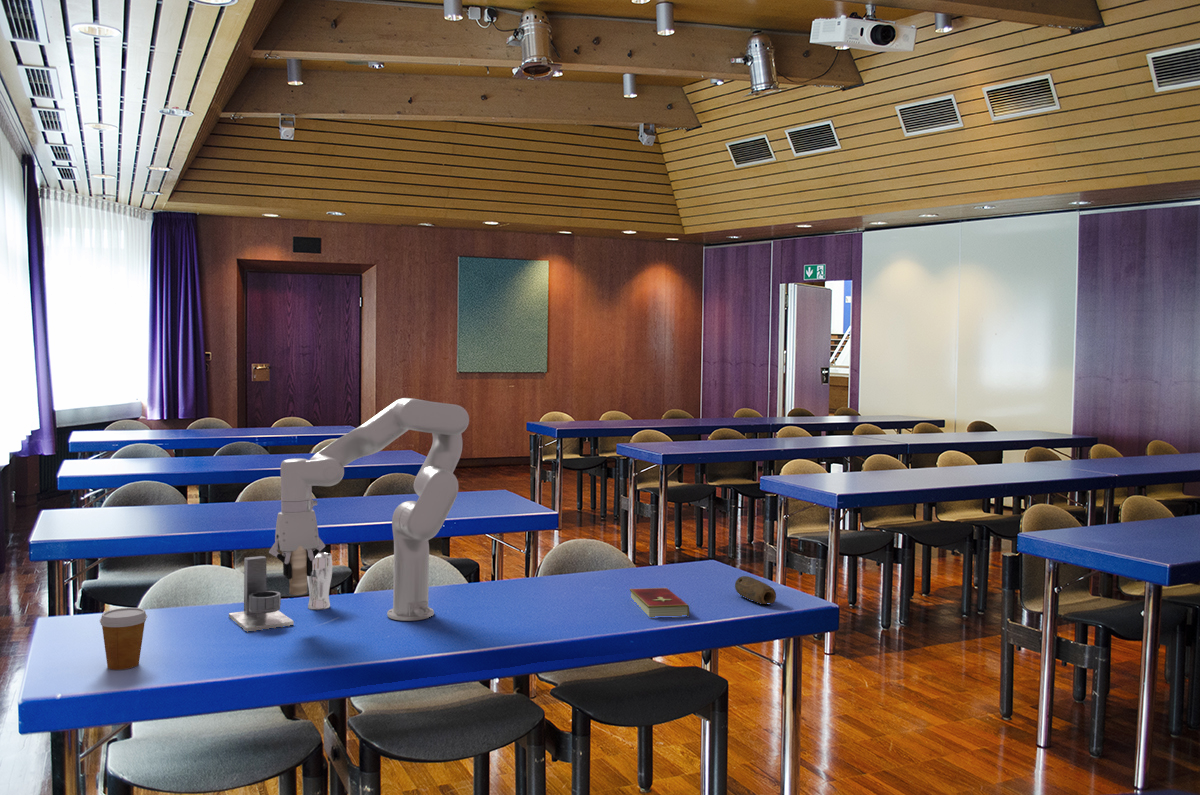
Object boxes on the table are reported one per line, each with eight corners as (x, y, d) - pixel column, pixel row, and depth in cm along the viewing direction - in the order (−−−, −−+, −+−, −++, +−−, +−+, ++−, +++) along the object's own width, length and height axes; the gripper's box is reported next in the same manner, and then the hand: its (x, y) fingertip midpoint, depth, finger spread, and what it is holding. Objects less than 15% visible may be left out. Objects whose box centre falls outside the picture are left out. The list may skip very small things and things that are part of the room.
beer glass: (335, 604, 261) (336, 552, 260) (325, 610, 254) (326, 557, 253) (312, 603, 261) (312, 552, 261) (302, 609, 254) (302, 556, 254)
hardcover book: (667, 600, 275) (667, 586, 275) (689, 618, 254) (689, 603, 254) (629, 601, 272) (629, 588, 272) (648, 620, 252) (648, 605, 252)
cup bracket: (293, 625, 238) (294, 564, 238) (246, 632, 231) (247, 569, 231) (273, 611, 252) (274, 553, 252) (228, 617, 245) (229, 558, 244)
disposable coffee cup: (122, 657, 210) (123, 605, 209) (156, 661, 207) (157, 609, 207) (88, 669, 200) (89, 615, 200) (123, 674, 198) (124, 619, 197)
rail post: (309, 593, 234) (308, 539, 234) (292, 595, 232) (291, 541, 231) (304, 589, 238) (303, 537, 237) (287, 592, 235) (286, 539, 235)
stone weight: (730, 597, 279) (730, 575, 279) (748, 594, 283) (749, 573, 282) (761, 608, 266) (761, 585, 266) (779, 606, 269) (780, 583, 269)
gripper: (323, 501, 242) (325, 569, 243) (258, 508, 232) (260, 578, 233) (333, 505, 236) (335, 574, 237) (267, 511, 226) (269, 584, 227)
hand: (298, 576), depth 235 cm, fingers closed on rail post, 4 cm apart
